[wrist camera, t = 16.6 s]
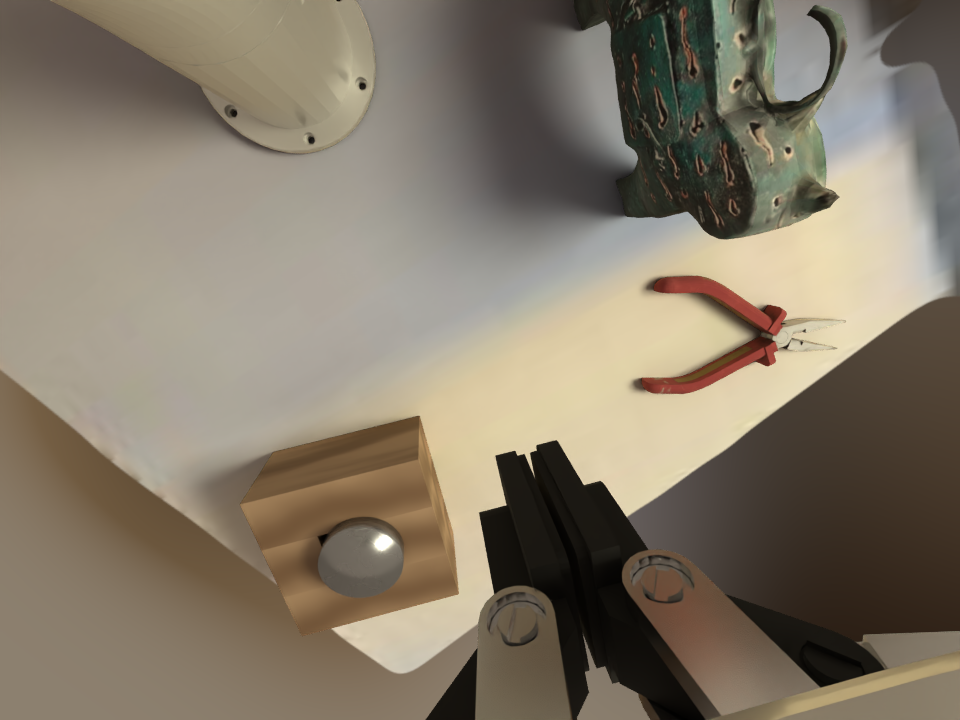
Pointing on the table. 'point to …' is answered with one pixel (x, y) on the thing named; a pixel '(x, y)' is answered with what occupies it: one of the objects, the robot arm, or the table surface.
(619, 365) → the table surface
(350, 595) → the grey metal rounded piece
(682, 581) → the robot arm
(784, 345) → the pliers
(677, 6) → the ceramic cat
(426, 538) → the socket block
